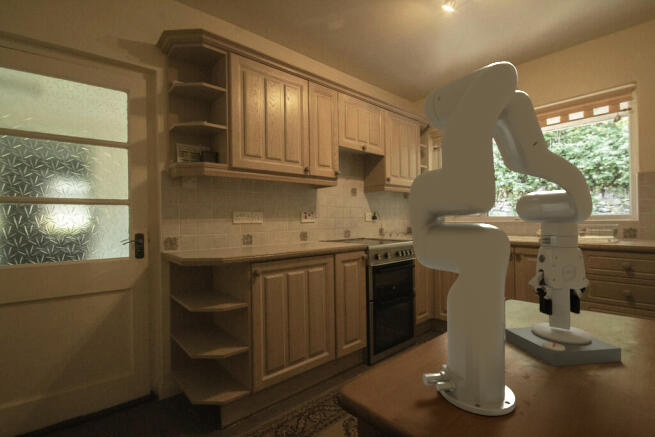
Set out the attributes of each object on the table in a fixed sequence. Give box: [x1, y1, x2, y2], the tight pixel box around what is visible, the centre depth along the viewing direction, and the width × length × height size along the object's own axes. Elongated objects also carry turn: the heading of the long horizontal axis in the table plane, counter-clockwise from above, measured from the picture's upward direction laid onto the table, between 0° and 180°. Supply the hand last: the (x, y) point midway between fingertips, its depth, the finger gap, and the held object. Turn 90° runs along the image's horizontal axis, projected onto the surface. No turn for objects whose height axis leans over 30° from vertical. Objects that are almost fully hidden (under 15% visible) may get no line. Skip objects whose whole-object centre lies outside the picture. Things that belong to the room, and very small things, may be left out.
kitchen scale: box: [505, 322, 622, 368], centre depth 75 cm, size 17×15×4 cm
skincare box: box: [548, 280, 571, 330], centre depth 77 cm, size 6×4×12 cm
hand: (559, 312), depth 77 cm, fingers closed on skincare box, 7 cm apart
